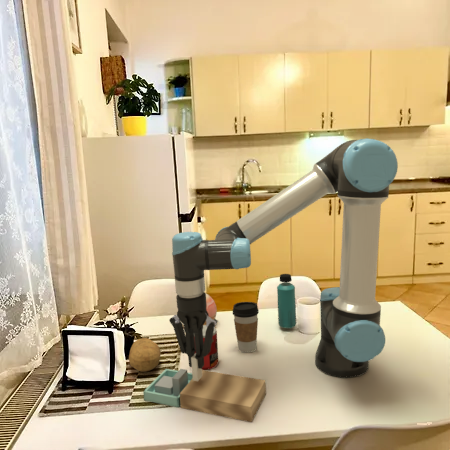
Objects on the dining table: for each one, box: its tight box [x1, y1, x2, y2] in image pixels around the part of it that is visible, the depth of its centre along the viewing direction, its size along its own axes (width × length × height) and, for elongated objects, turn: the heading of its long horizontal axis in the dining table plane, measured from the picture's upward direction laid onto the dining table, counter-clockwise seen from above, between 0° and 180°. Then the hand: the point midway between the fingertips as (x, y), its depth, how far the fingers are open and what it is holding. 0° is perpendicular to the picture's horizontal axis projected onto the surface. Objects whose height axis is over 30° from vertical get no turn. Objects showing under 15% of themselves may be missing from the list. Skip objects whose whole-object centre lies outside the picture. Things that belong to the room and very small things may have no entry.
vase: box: [203, 293, 218, 325], centre depth 153 cm, size 14×14×18 cm
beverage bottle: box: [276, 273, 297, 329], centre depth 147 cm, size 6×7×20 cm
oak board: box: [180, 370, 267, 423], centre depth 107 cm, size 19×12×4 cm, turn 68°
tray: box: [142, 368, 193, 408], centre depth 113 cm, size 10×12×2 cm
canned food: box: [194, 325, 219, 371], centre depth 126 cm, size 8×8×11 cm
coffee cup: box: [232, 301, 260, 353], centre depth 134 cm, size 8×8×15 cm
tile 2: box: [172, 368, 189, 396], centre depth 112 cm, size 5×5×2 cm
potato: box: [128, 337, 162, 373], centre depth 126 cm, size 10×14×8 cm
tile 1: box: [154, 376, 173, 395], centre depth 113 cm, size 5×5×2 cm
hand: (197, 378), depth 110 cm, fingers closed
